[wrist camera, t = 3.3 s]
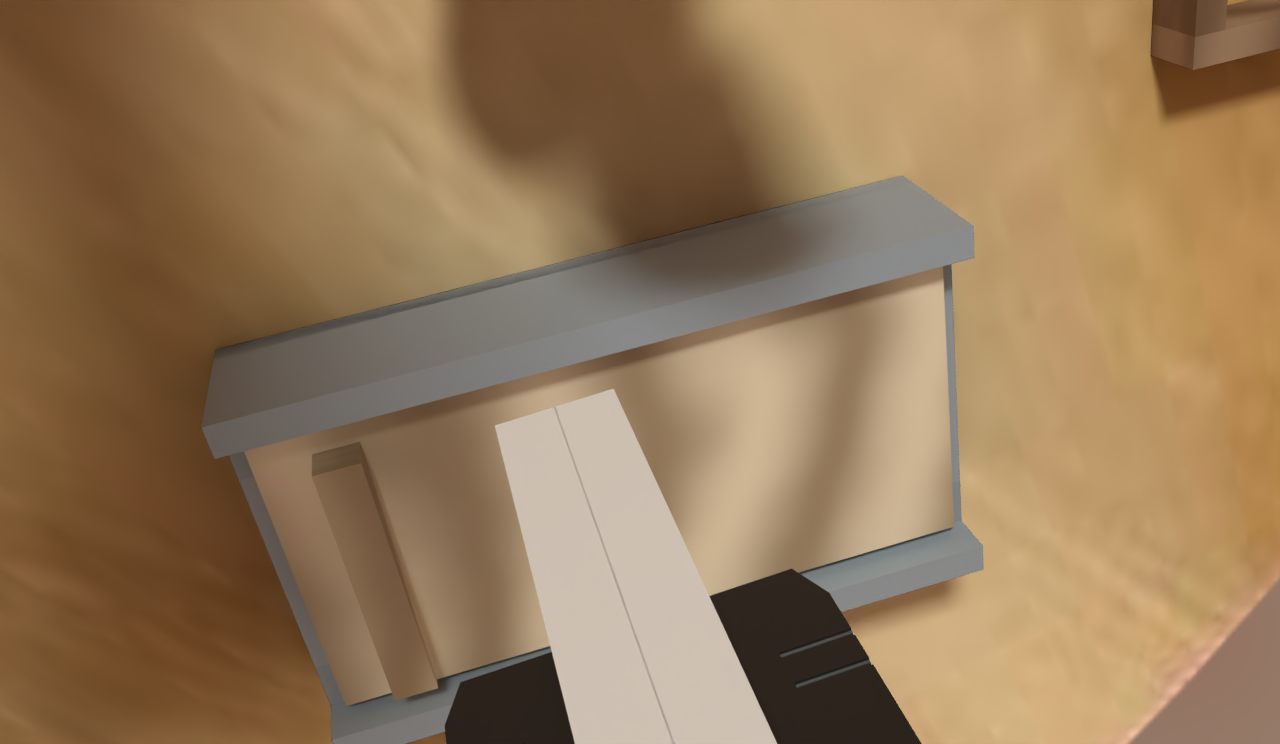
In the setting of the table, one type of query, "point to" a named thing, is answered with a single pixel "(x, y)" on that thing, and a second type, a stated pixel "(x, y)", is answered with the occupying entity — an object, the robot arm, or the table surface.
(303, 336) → the pencil box
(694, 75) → the table surface
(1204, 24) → the brown wooden frame
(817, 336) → the lid
